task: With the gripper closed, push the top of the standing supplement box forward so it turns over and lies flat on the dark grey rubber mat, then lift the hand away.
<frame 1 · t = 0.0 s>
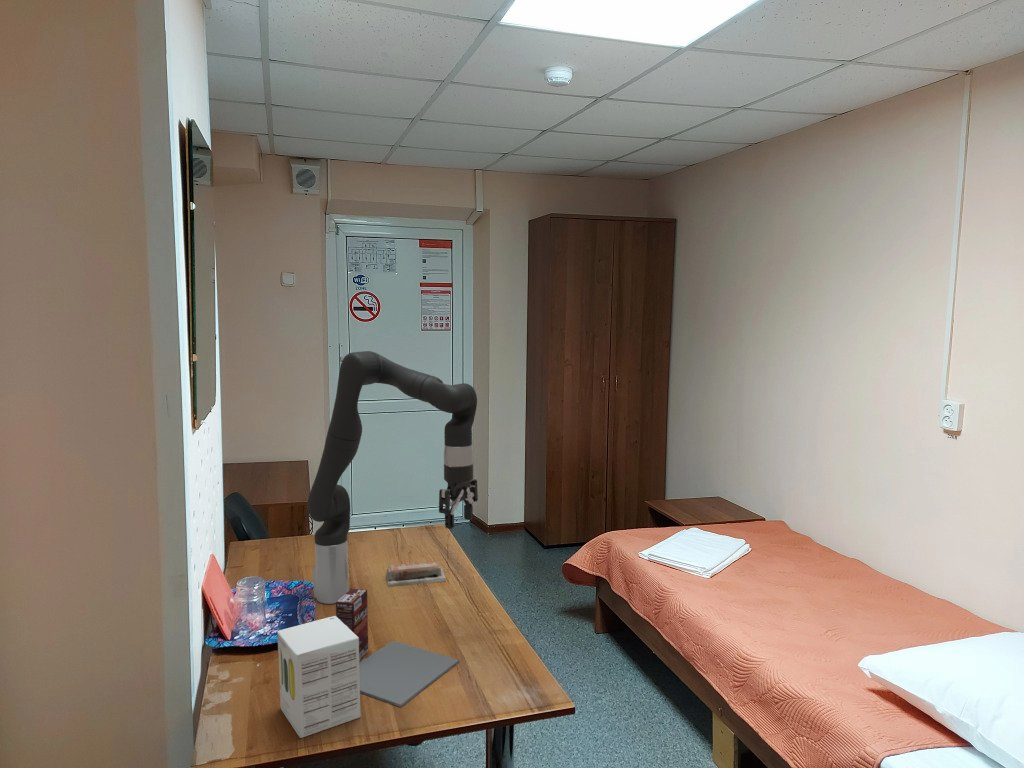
hand: (459, 523, 181), 29 cm above the table, tool pointing down, fingers open, 8 cm apart
supplement box 2: (320, 714, 147), on the table
supplement box: (353, 658, 170), on the table
packaged product: (415, 580, 221), on the table
mat: (397, 672, 164), on the table
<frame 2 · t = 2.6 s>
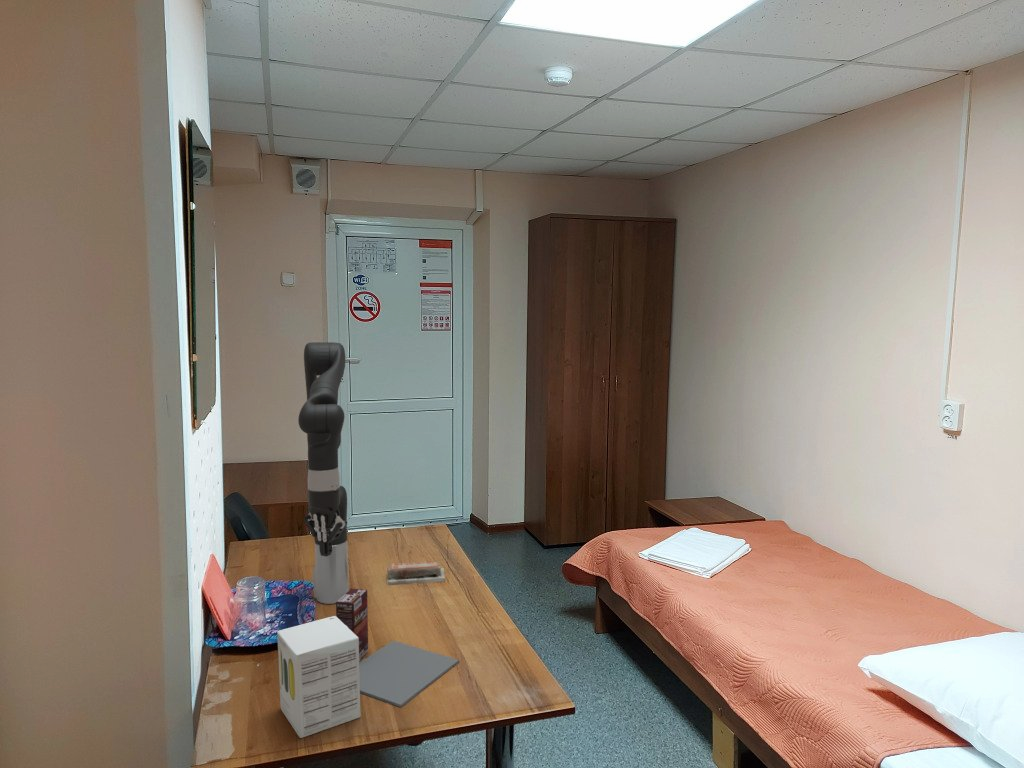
hand: (326, 555, 172), 24 cm above the table, tool pointing down, fingers closed
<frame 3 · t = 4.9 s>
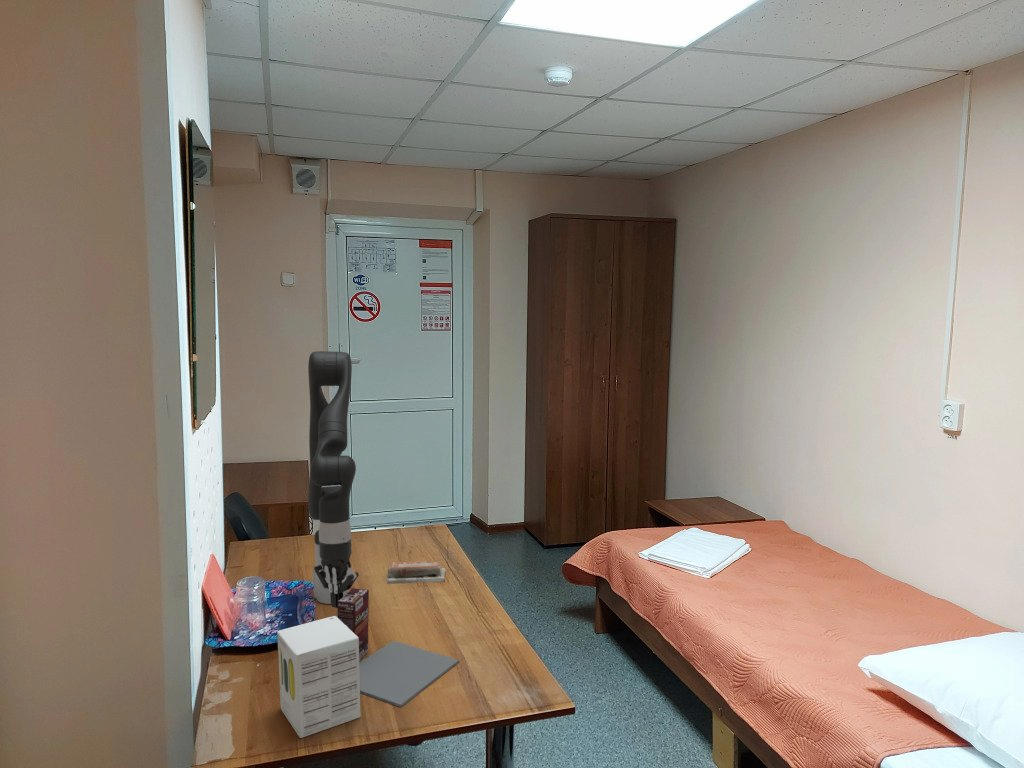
hand: (337, 606, 171), 12 cm above the table, tool pointing down, fingers closed
supplement box: (353, 658, 170), on the table, touching gripper
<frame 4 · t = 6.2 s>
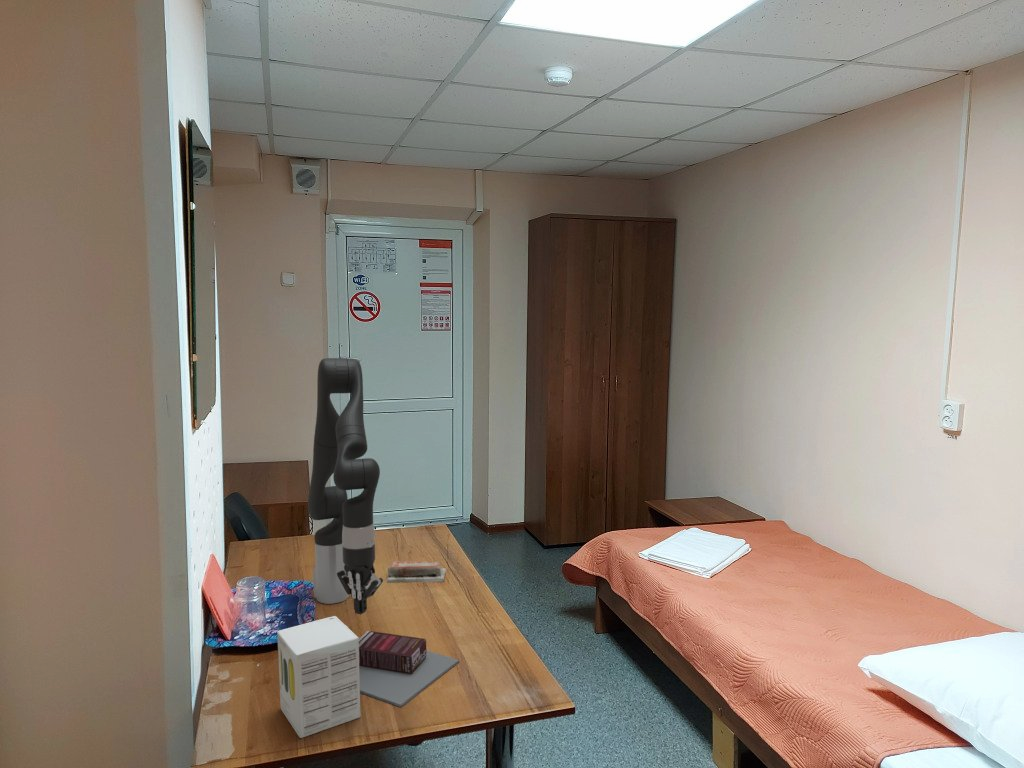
hand: (360, 612, 167), 12 cm above the table, tool pointing down, fingers closed
supplement box: (358, 647, 170), point 3 cm above the table, touching mat
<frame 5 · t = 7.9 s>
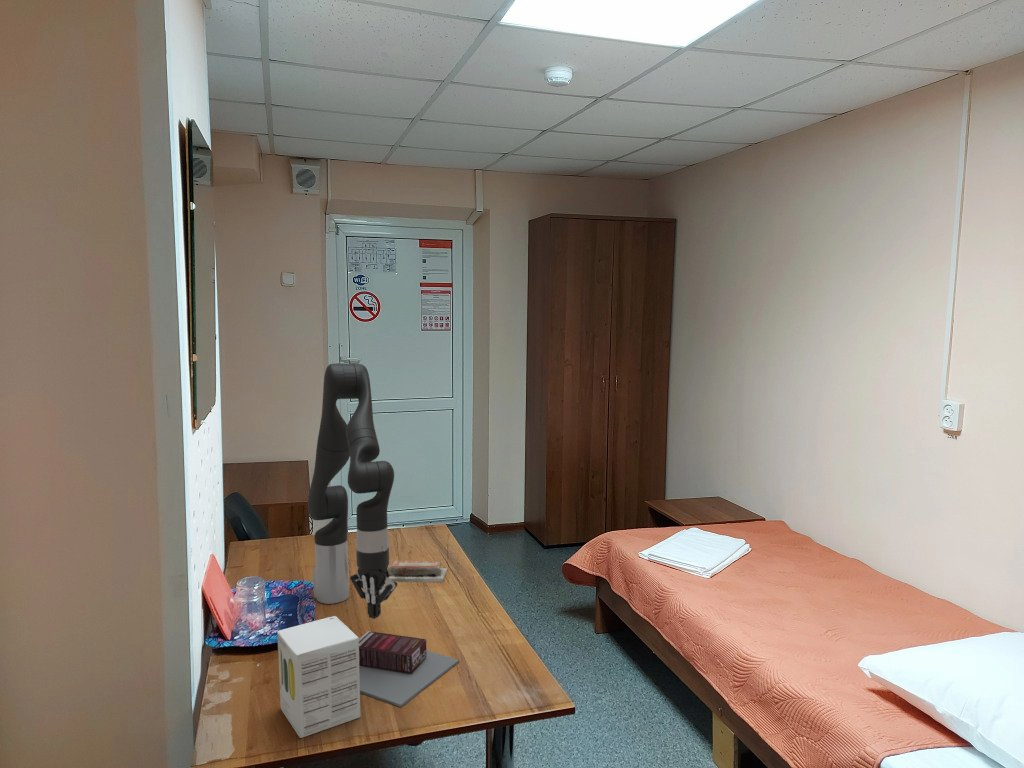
hand: (374, 616, 166), 12 cm above the table, tool pointing down, fingers closed
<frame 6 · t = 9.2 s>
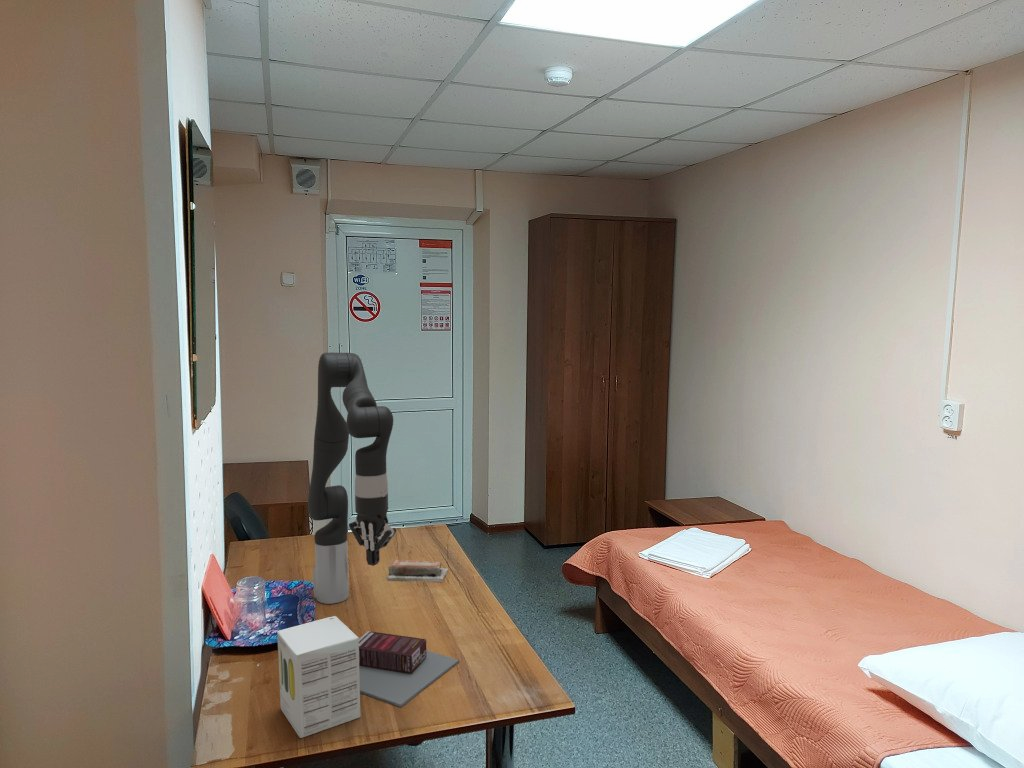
hand: (373, 564, 164), 25 cm above the table, tool pointing down, fingers closed
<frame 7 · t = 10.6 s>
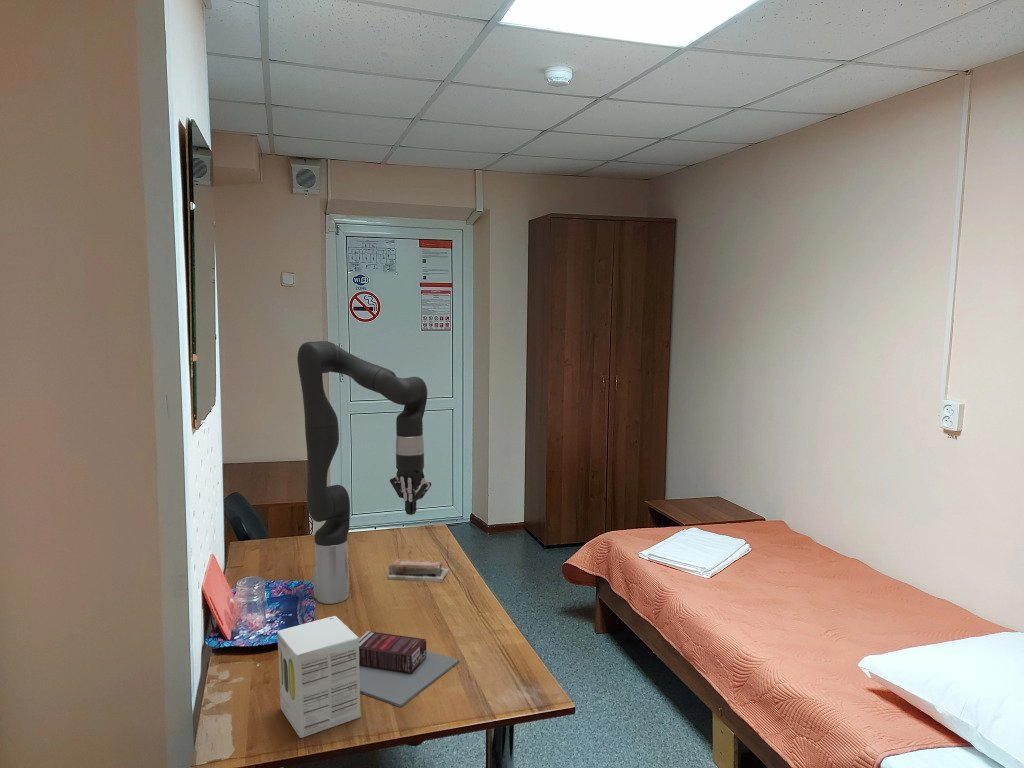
hand: (410, 513, 191), 29 cm above the table, tool pointing down, fingers closed
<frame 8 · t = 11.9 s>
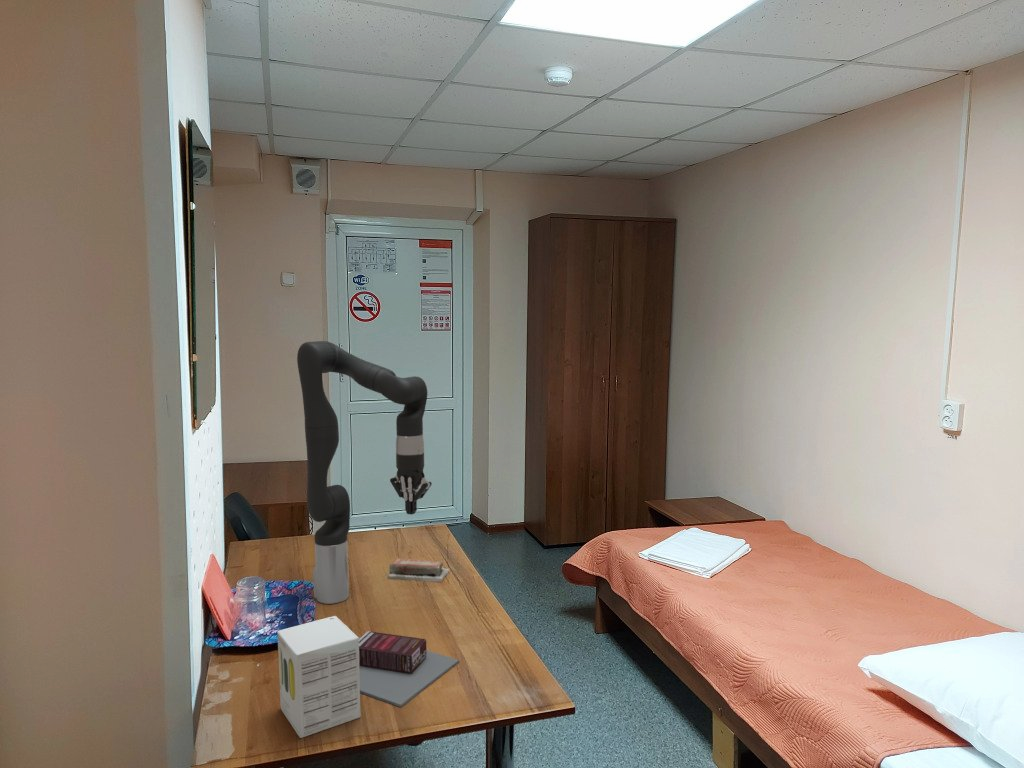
hand: (411, 513, 191), 29 cm above the table, tool pointing down, fingers closed
at the end: supplement box tilted 89°; supplement box inside the target area (5.1 cm from its centre), point 2.9 cm above the table; supplement box touching mat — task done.
